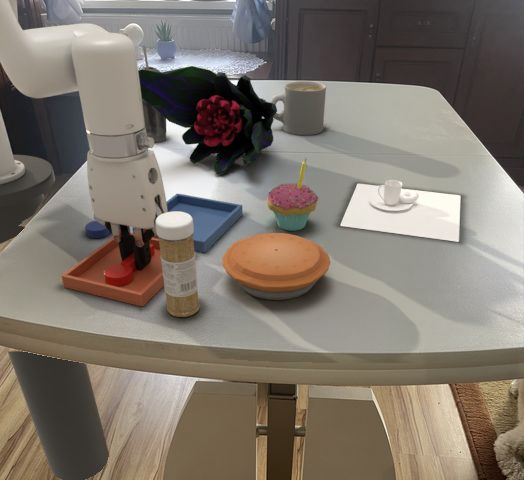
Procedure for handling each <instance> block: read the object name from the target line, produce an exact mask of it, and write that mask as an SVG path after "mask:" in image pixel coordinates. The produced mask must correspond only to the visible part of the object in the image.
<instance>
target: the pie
mask: <svg viewBox="0 0 524 480" xmlns="http://www.w3.org/2000/svg"><path fill="white" fill-rule="evenodd" d="M330 265H331V258H330V255H329V254H328V253H327V251H326V250H325V249H324V248H323V247H321V246H320V245H319V244H317V243H316V242H314V241H312V240H309V239H307V238H304V237H301V236H299V235H297V234H291V233H285V232H283V233H282V232H267V233H259V234H254V235H251V236H248V237H245V238H242V239H240V240H236V241H234V242H233V244H231V245H230V246H229V248H227V250H225V253H224V254H223V255H222V267H223V268H224V270H225V272H226V273H227V274H228V275H229V276H230V277H231V278H232V279H234V281H235V282H236V284H237V285H238V286H239V287H240V288H241V289H242V290H243V292H246V293H247V294H248V295H251V296H253V297H255V298H257V299H263V300H268V301H284V300H292V299H295V298H298V297H301V296H302V295H305V294H306V293H308V292H309V291H310V290H311V289H312V288H313V287H314V286H315V284H316V283H317V282H318V281H319V280H320V279H321V277H322V276H324V275H325V274H327V272H329V269H330Z"/></svg>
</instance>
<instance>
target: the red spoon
mask: <svg viewBox="0 0 524 480" xmlns="http://www.w3.org/2000/svg"><path fill="white" fill-rule="evenodd" d="M150 251H151V257H152V256H153V255H154V254H155V250H154V245H152V244H150ZM136 269H137V268H136V263H135V257H134V252H133V253H132V254H131V255H130V256H128V257H127V258H126V259H125V260H123V261H122V262H121V263H120V264H116V265H112V266H109V267H107V268H106V269H105V270H104V277H105V281H106V283H107V284H109V285H112V286H122V285H126V284H128V283H130V282H131V281H132V280H133V272H134V271H135V270H136Z"/></svg>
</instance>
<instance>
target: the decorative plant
mask: <svg viewBox="0 0 524 480" xmlns="http://www.w3.org/2000/svg"><path fill="white" fill-rule="evenodd" d="M142 69H143V68H141V69H138V73H139V81H140V89H141V97H142V99H143V100H145V101H146V102H148V103H149V104H150V105H152V106H153V107H154V108H155V109H156V110H158V111H159V112H160V113H161V114H162V115H163V116H164V117H165V118H166V121H168V122H169V123H171V124H174V125H177V126H179V127H181V128H185V129H186V131H185V132H184V133H183V134H182V135H181V139H182V142H184V144H185V145H186V146H187V145H188V146H189V145H196V147H194V149H193V150H192V153H191V154H190V156H189V162H190V163H191V164H193V165H196V164H198V163H200V162H201V161H203V160H205V159H206V158H209V157H210V156H212V155H214V154H215V160H214V173H216V174H217V175H218V176H219V175H225V174H226V173H227V171H228V170H229V169H230V168H231V167H232V165H233V164H234V163H235V162H236V161H237V160H238V159H240V158H242V160H243V164H244V165H246V164H247V163H256V162H257V160H258V157H259V154H260V152H261V151H263V150H264V149H267V148H269V147H271V146H272V144H273V142H274V134H273V130H272V125H273V123H274V120H275V119H274V118H273V117H274V115H275V113H278V108H277V104H276V105H275V104H273V103H270V102H271V101H270V102H269V101H267V100H266V99H264V98H261V97H259V95H258V94H257V93H256V91H255V90H254V87H253V84H252V82H251V78H250V77H249V76H247V75H246V74H243V75H241V76H240V78H239V79H238V80H237V82H236V84H234V83H233V82H232V81H231V80H230V79H229V78H228V76H227V74H226V73H225V72H221V71H219V72H217V73H216V72H214V71H212V70H211V69H207V68H202V67H198V66H194V65H189V66H185V67H180V68H176V69H171V70H166V71H160V72H157V71H149V70H142Z"/></svg>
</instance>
